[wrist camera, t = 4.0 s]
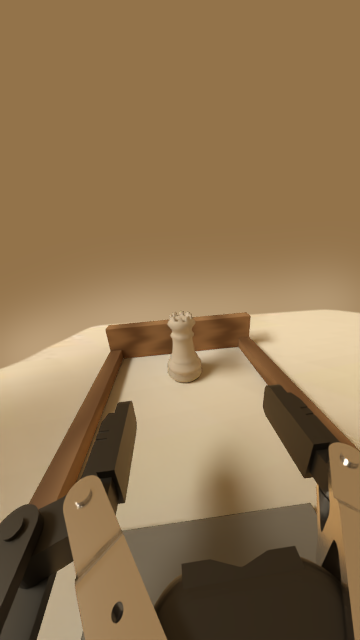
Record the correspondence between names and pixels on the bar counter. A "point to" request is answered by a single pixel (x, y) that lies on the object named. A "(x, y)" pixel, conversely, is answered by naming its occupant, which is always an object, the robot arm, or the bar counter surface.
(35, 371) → the bar counter surface
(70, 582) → the bar counter surface
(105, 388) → the walnut lane
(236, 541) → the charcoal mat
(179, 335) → the rook chess piece
